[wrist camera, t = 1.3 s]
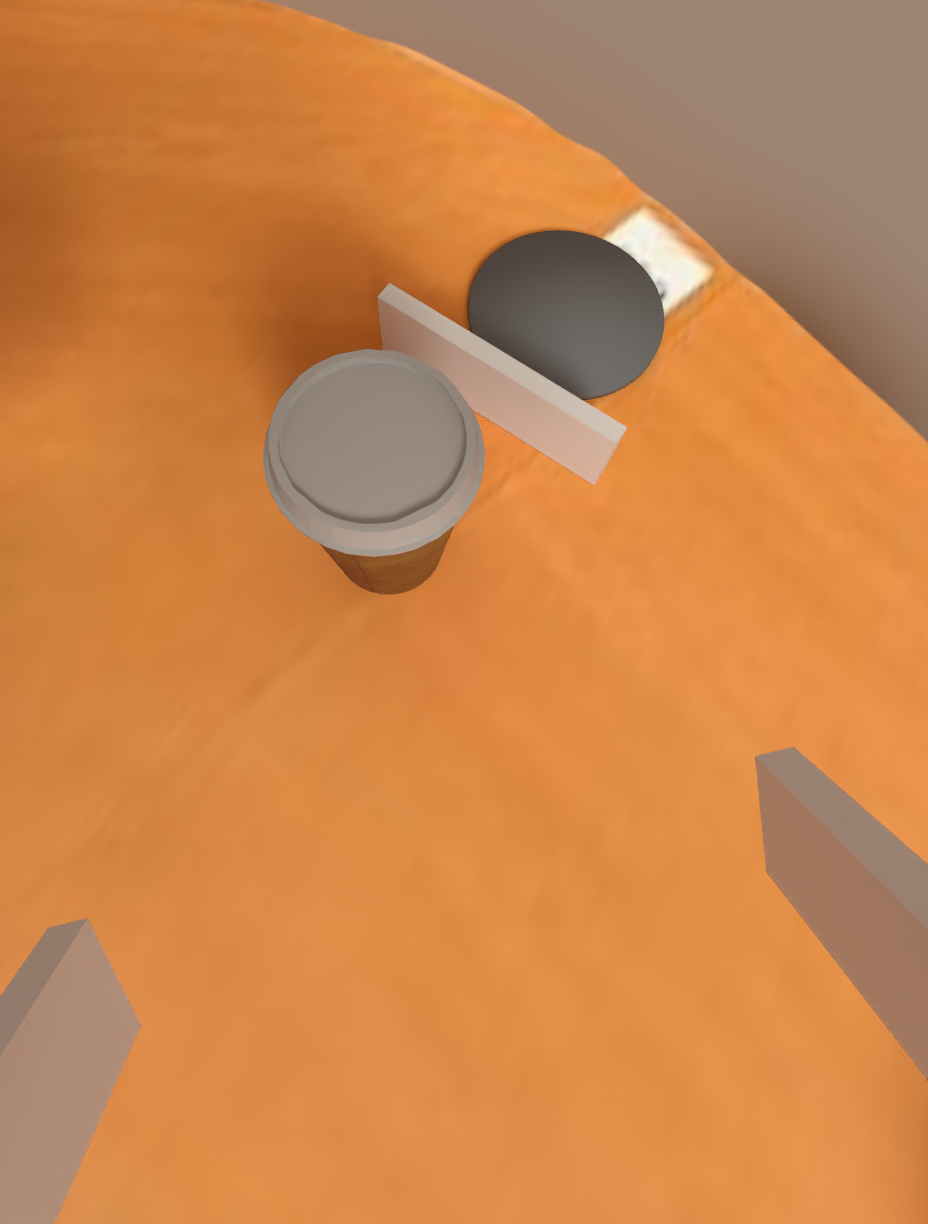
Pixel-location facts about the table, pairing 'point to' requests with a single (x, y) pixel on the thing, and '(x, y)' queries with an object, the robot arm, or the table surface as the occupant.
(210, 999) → the table surface
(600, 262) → the rubber pad
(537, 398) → the low wall
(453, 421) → the disposable coffee cup
